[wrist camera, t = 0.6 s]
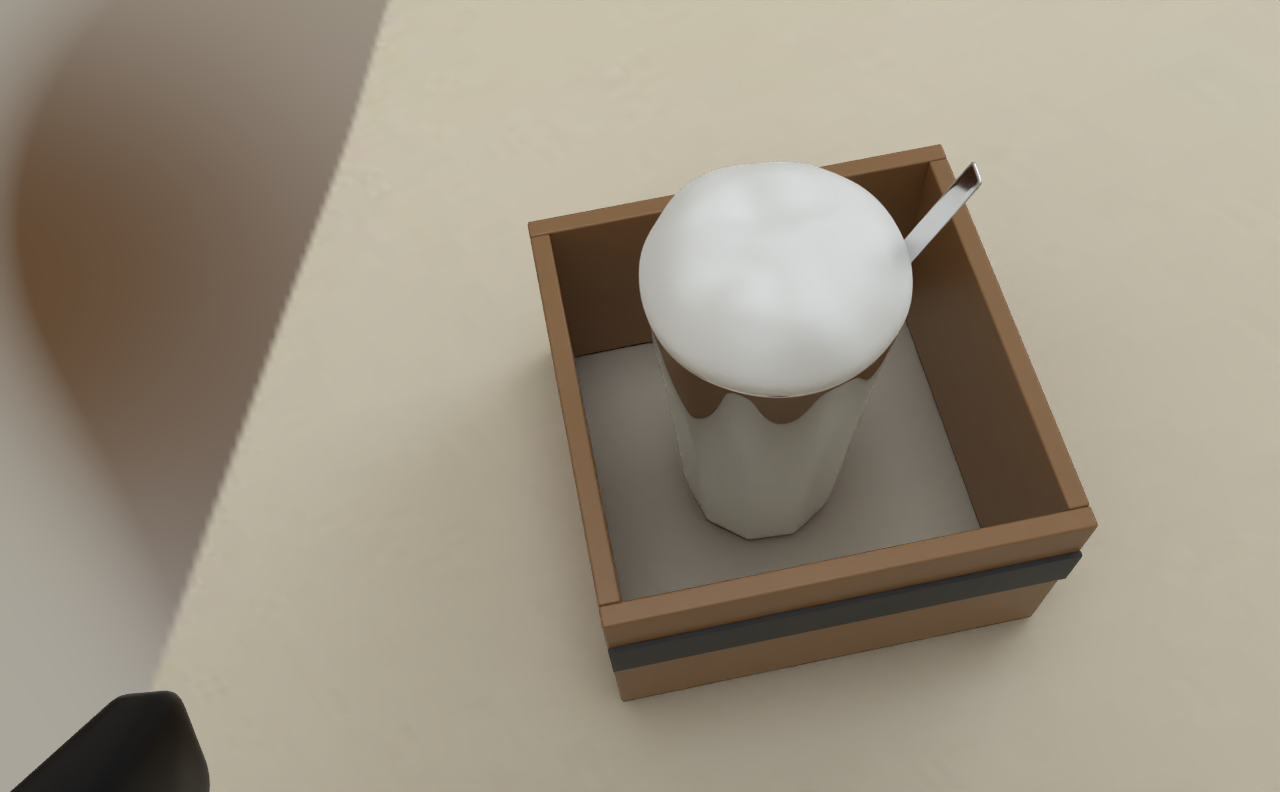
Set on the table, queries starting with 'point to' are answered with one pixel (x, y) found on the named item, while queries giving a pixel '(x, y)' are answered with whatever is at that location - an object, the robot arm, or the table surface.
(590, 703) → the table surface
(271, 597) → the table surface
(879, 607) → the carton
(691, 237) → the milkshake
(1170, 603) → the table surface
